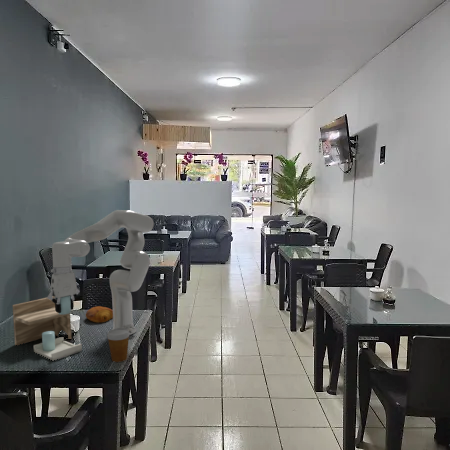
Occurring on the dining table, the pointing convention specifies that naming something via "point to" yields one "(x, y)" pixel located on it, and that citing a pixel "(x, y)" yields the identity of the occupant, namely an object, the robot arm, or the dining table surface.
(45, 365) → the dining table surface
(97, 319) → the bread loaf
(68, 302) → the pale blue cylinder
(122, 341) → the disposable coffee cup
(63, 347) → the tray
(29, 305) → the wooden stand
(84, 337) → the dining table surface
